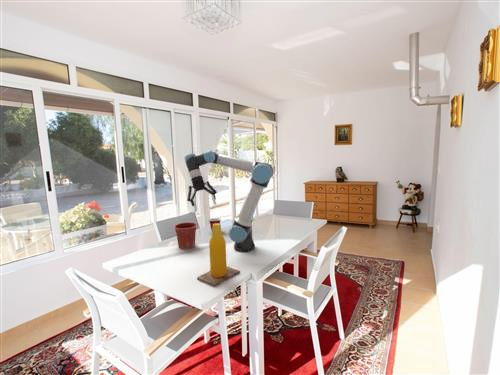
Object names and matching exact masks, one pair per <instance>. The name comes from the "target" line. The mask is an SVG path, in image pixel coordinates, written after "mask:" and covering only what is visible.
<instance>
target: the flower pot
mask: <svg viewBox="0 0 500 375" xmlns="http://www.w3.org/2000/svg"><path fill="white" fill-rule="evenodd" d="M197 226H198V224H197V223H195V222H190V221H189V222H180V223H177V224H174V226H173V227H174V230H175V231H174V232H175V234H176V240H177V246H178V248H179V249H182V250H183V249H184V250H189V249H192V248H194V247H195V246H196V230H197Z"/></svg>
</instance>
